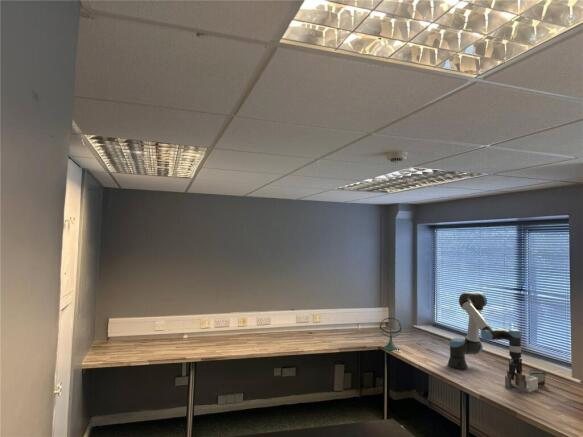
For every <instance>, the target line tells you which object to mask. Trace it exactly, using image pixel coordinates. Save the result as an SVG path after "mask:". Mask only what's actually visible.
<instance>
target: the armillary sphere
mask: <svg viewBox="0 0 583 437" xmlns="http://www.w3.org/2000/svg"><path fill="white" fill-rule="evenodd" d="M392 316H393V315H392V312H391V313H390V317H386V318H384V319H382V321H381V322H379V331H380V332H381V334H382V335H383V336H385V337H387V338H389V339H388V340H389V341H388V343H387V344H386V345H384V346H385V348H384V346H382V347H381V349H383V351H389V352H394V351H393V350H397V348H398V347H397V346H395V344H394V343H393V338H396V337H398V336H399V335H400V334H401V333H402V331H403V326H402V323H401V322H400V321H399V320H398V319H396V318H393V317H392ZM385 320H390V325H389V331H387V330H384V329H383V328H382V325H383V324H384V321H385ZM392 320H394V321H396V322H398V326H399V327H400V328H399V329H398V330H396V331H392ZM383 332H384V333H383ZM385 333H387V334H389V335H387V334H385ZM393 334H396V335H393ZM396 347H397V348H396Z"/></svg>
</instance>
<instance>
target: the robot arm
mask: <svg viewBox="0 0 583 437" xmlns="http://www.w3.org/2000/svg"><path fill="white" fill-rule="evenodd" d="M458 303H459V306H460V307H461V309H462V310H463V311H465V312H466V313H467V315H468V324H467V332H466V333H467V335H466V336H465V337H464V338H460V337H455V338H454V337H453V338H452V339H450V341H449V359H448V362H447V366H448V368H450V367H451V369H453V368H454V369H453V370H458V369H460V370H459V371H464V370H468V364H467V361H466V358H465V357H466V355H478V354H481V353H482V351H483V343H482V342H481V339H482V340H484V341H502V340H503V341H506V342H507V341H508V342H509V343H508V346H509V348H508V351H509V352H508V353H509V356H510V360H508V370H509V374H510V375H511V384H513V385H516V381H515V371H516V372H517V373H519V374H522V373H523V362H522V361H523V359H522V333H521V330H519V329H515V328H510V329H505V328H500V327H499V328H497V329H493V328H492V327H491V326H490V325H489V323H487V321H486V320H485V319H484V317H483V316H482V313H481V312H482V311H483V310H484V307H486V306H487V305H488V299H487V297H486V295H485V294H484V293H483V292H478V291H475V292H474V291H473V292H469V291H468V292H467V291H466V292H463V293H461V294H460V295H459V297H458ZM479 332H480V336H481V339H480V338H479Z"/></svg>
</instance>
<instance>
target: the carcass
mask: <svg viewBox="0 0 583 437" xmlns="http://www.w3.org/2000/svg"><path fill="white" fill-rule="evenodd" d="M515 372H516V370H515ZM516 373H517V372H516ZM522 374H523V375H525V377H526V387H524V382H523V381H520V380H519V385H513V384H511V383H510V377H508V376H507V375H505V376H504V386H505V387H506V388H509V389H510V388H512V387H513V388H515V389H518V391H519V392H520V393H527V392H528V393H531V392H534V391H537V390H539V386H538V378H536V377H533V376H530V374H526V373H523V372H522Z"/></svg>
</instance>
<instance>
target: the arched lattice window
mask: <svg viewBox="0 0 583 437" xmlns="http://www.w3.org/2000/svg"><path fill="white" fill-rule="evenodd" d="M528 375H530V376H533V377H536V378H538V387H540V386H541V387H545V384H546V376H547V373H546V371H544V370H540V369H529V371H528Z"/></svg>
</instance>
